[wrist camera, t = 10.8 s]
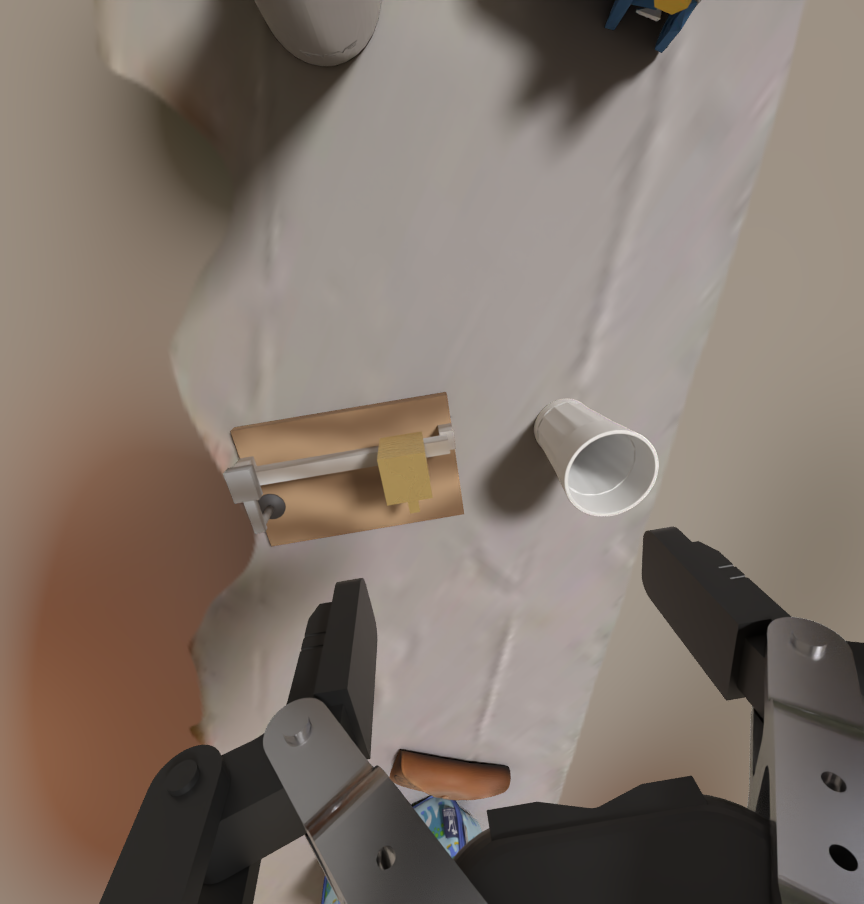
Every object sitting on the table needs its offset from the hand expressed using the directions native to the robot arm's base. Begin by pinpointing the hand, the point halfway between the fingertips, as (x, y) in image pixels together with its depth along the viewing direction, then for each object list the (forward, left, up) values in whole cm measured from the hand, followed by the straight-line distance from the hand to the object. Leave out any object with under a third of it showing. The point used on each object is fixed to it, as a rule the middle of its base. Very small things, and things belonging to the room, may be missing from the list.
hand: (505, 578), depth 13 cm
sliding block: (+10, -4, -32) cm, 34 cm away
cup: (+10, +13, -34) cm, 38 cm away
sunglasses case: (+65, -7, -35) cm, 74 cm away
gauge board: (+11, -10, -34) cm, 37 cm away
